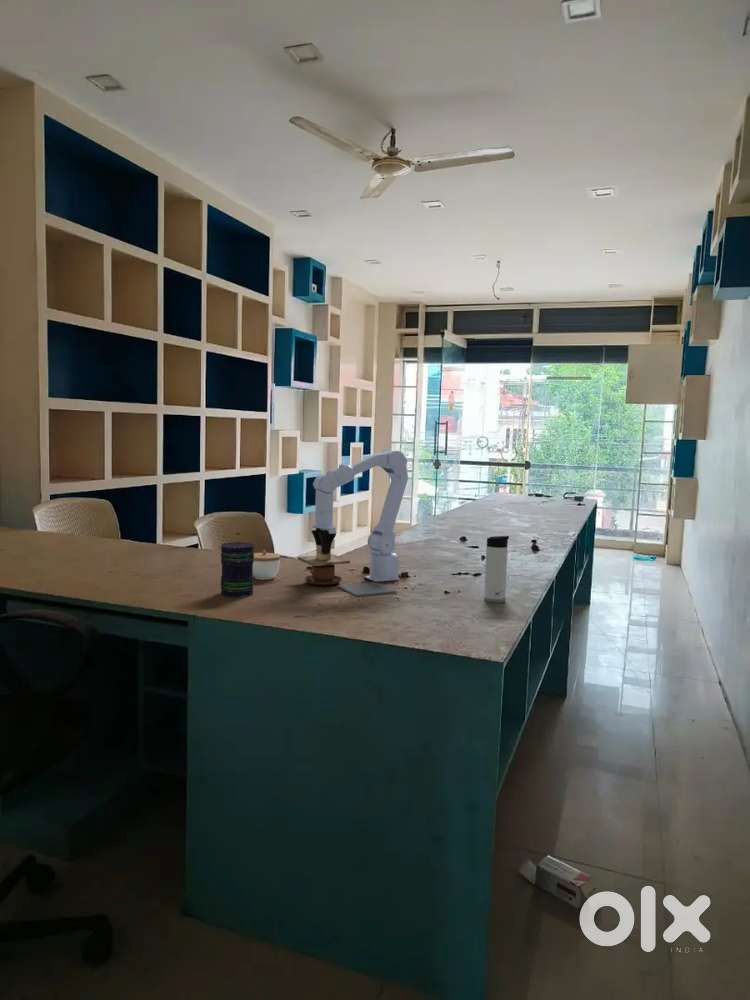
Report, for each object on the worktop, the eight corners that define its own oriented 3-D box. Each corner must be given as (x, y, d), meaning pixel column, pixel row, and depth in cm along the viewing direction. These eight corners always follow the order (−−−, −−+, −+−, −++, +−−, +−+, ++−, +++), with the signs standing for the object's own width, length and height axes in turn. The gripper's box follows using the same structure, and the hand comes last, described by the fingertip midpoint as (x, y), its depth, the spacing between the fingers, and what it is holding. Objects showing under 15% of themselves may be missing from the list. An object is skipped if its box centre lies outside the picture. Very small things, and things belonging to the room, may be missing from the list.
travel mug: (501, 604, 203) (504, 537, 201) (480, 600, 207) (483, 535, 205) (509, 600, 208) (512, 535, 207) (489, 597, 212) (491, 533, 210)
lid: (333, 556, 233) (333, 541, 233) (349, 563, 222) (350, 547, 221) (297, 559, 227) (297, 543, 227) (312, 566, 216) (313, 549, 215)
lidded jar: (273, 582, 225) (274, 554, 224) (242, 580, 227) (243, 552, 226) (284, 575, 235) (284, 548, 235) (254, 573, 238) (255, 547, 237)
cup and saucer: (298, 585, 222) (298, 566, 221) (314, 578, 233) (315, 560, 232) (332, 589, 218) (332, 570, 217) (347, 582, 229) (347, 564, 228)
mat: (375, 583, 226) (375, 582, 226) (396, 592, 214) (396, 591, 214) (337, 587, 220) (337, 585, 220) (356, 596, 208) (356, 594, 208)
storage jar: (253, 597, 203) (254, 537, 202) (219, 597, 202) (220, 537, 200) (253, 589, 213) (254, 532, 212) (221, 590, 212) (221, 532, 210)
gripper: (304, 509, 227) (303, 549, 229) (321, 514, 215) (320, 556, 216) (323, 508, 231) (322, 548, 232) (342, 513, 218) (341, 555, 219)
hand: (323, 552), depth 224 cm, fingers closed on lid, 4 cm apart
